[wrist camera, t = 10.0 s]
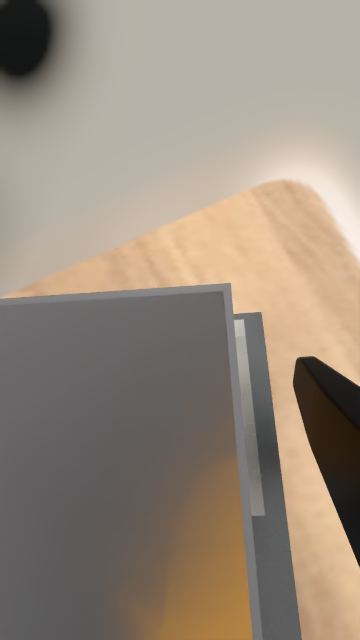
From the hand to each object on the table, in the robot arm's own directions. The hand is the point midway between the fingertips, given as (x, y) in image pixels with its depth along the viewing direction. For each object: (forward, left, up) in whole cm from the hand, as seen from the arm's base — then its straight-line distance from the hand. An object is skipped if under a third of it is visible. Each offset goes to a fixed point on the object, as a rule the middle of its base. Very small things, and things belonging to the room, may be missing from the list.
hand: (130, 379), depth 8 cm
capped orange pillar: (-1, 0, -8) cm, 8 cm away
